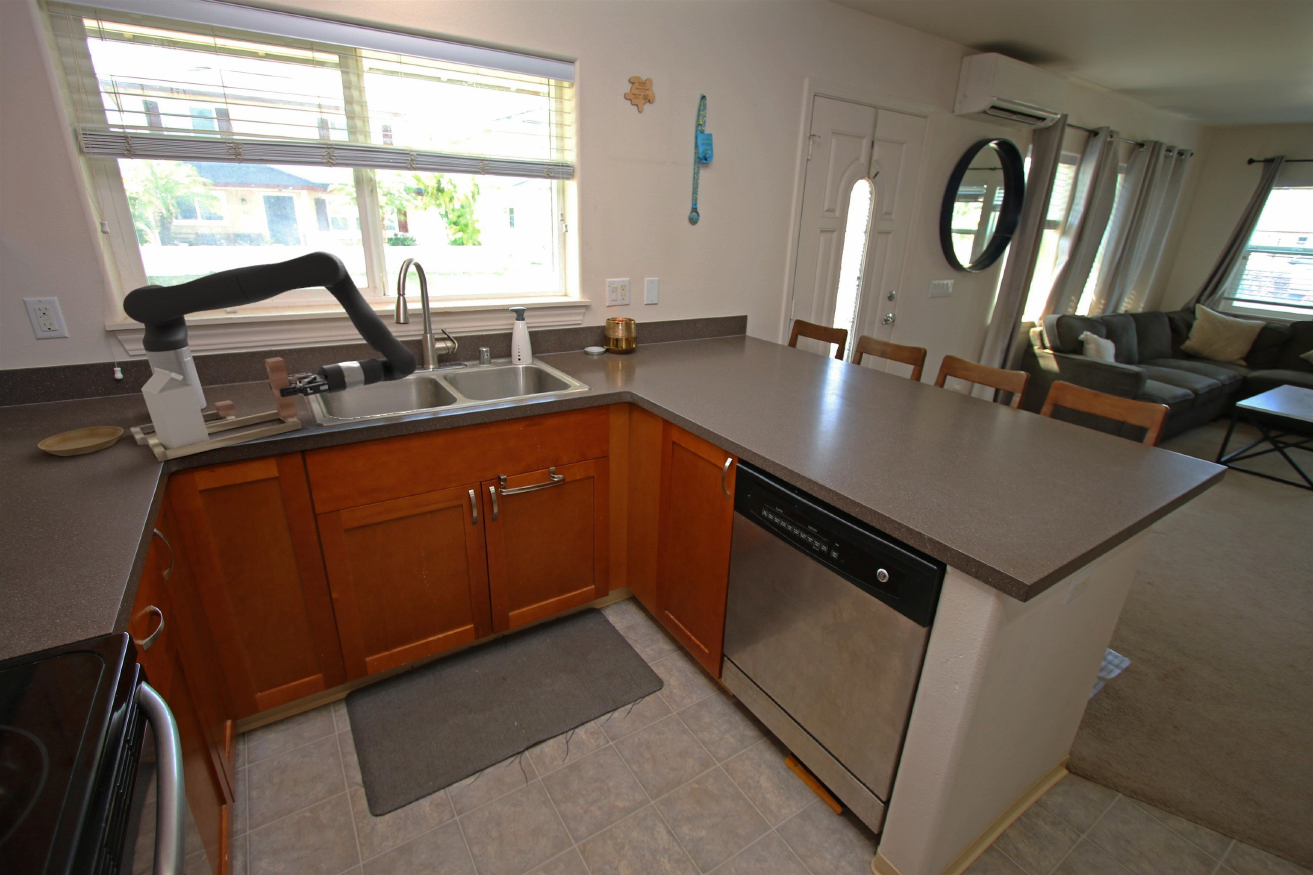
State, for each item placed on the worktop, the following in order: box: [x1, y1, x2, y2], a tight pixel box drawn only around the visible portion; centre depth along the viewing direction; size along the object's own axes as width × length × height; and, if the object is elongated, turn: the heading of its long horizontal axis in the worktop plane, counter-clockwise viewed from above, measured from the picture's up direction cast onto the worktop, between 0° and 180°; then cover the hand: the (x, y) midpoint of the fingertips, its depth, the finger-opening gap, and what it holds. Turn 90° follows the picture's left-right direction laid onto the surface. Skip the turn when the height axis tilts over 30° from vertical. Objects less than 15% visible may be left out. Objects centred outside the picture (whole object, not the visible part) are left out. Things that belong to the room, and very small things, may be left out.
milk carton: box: [141, 368, 211, 450], centre depth 133 cm, size 7×7×19 cm
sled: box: [147, 356, 303, 462], centre depth 140 cm, size 13×30×17 cm, turn 137°
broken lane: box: [129, 399, 237, 446], centre depth 147 cm, size 10×21×5 cm, turn 137°
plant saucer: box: [37, 425, 124, 457], centre depth 137 cm, size 15×15×3 cm
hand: (274, 389), depth 148 cm, fingers open, 8 cm apart
